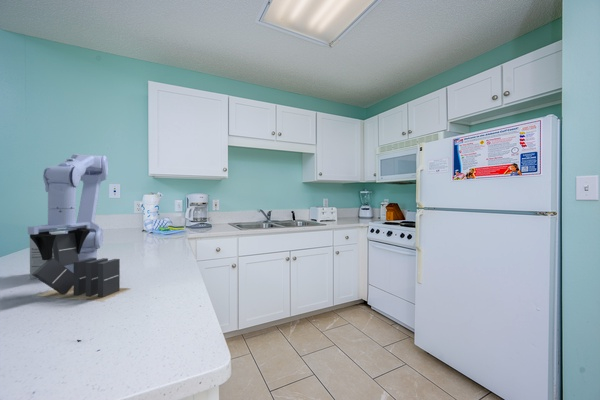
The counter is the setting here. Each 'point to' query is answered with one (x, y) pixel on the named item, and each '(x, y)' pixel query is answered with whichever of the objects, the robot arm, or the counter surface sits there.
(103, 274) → the domino
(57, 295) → the board
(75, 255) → the domino
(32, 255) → the supplement box
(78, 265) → the domino
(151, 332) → the counter surface
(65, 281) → the domino
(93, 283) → the domino
